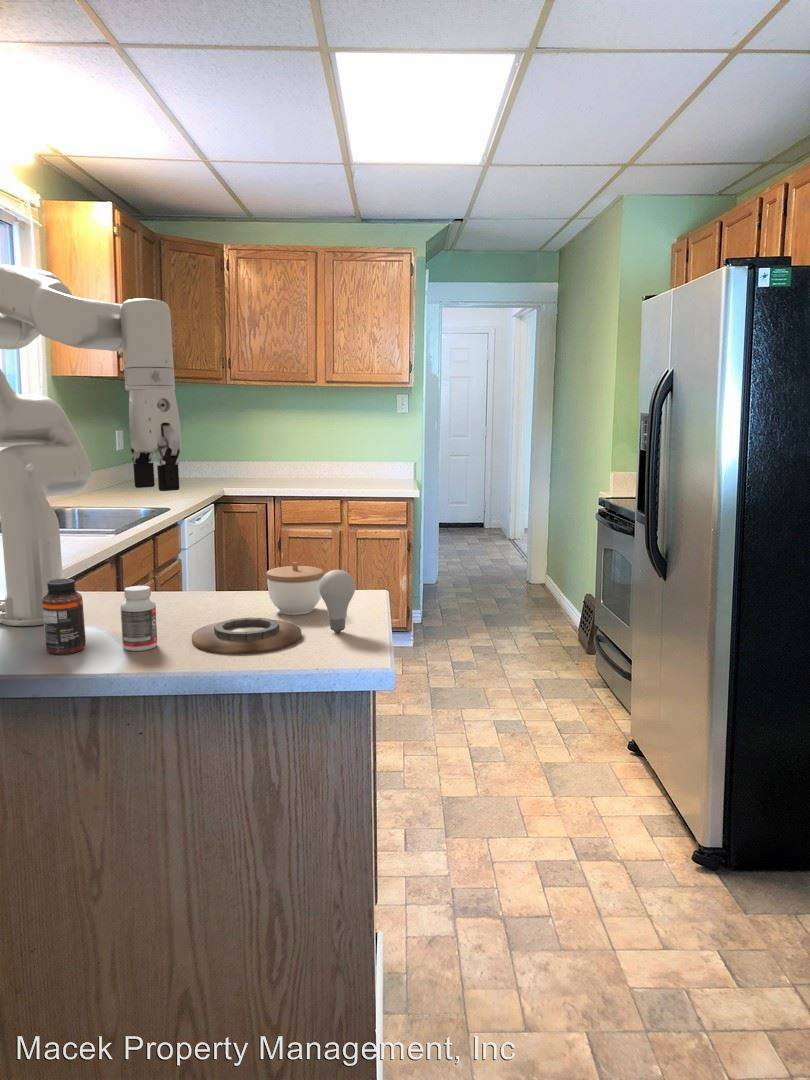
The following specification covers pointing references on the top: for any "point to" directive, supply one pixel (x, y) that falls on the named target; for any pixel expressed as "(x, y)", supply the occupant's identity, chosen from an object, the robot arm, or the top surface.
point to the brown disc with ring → (246, 636)
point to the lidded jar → (294, 588)
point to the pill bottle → (138, 619)
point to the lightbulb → (337, 596)
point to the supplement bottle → (63, 618)
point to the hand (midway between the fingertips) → (156, 488)
